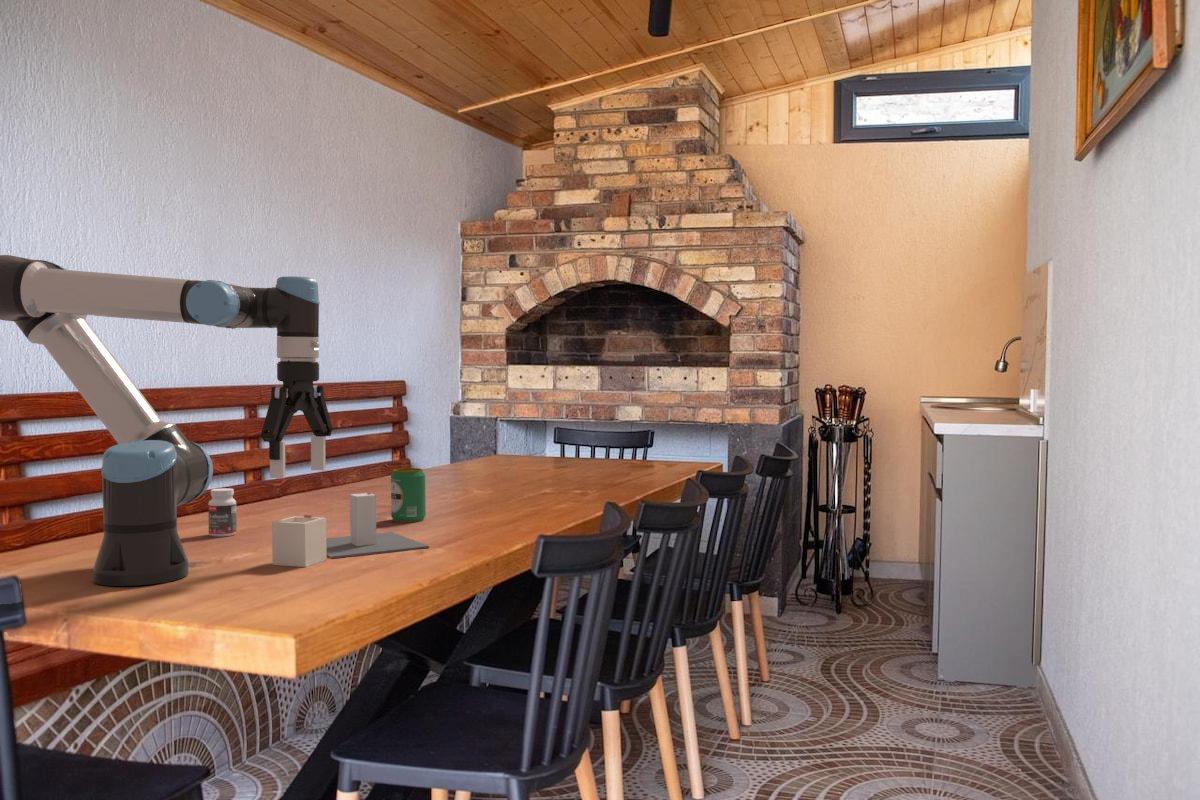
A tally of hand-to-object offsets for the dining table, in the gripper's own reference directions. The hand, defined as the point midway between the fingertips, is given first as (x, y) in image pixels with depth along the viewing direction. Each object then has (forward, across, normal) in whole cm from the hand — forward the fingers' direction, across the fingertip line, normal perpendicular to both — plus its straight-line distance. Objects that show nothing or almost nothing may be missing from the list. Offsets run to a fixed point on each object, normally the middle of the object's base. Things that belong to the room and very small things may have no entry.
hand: (298, 474), depth 189 cm
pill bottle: (+17, +22, +32) cm, 43 cm away
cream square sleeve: (+16, 0, 0) cm, 17 cm away
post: (+16, +18, -3) cm, 25 cm away
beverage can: (+17, +51, +3) cm, 54 cm away
